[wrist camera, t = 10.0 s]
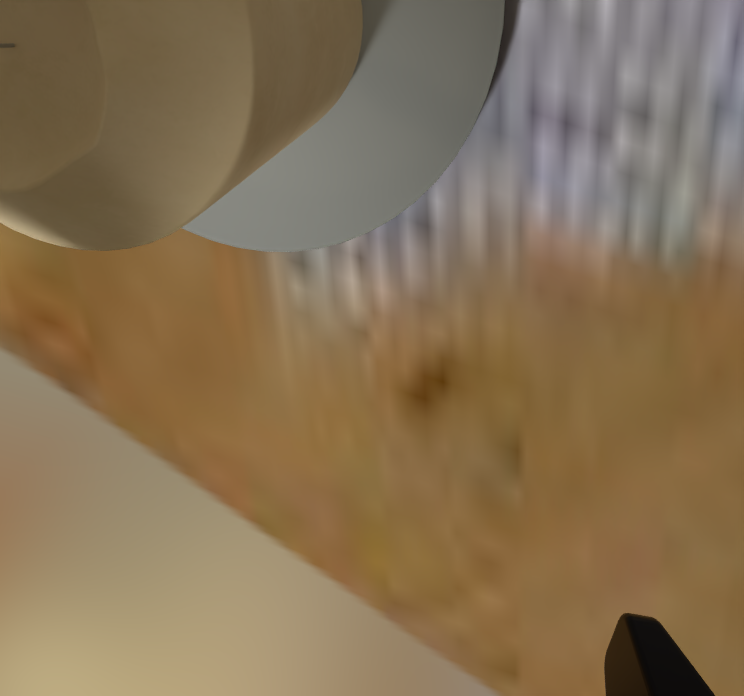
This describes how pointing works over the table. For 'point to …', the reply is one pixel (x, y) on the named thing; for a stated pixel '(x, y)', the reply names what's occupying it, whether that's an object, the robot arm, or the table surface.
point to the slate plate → (371, 131)
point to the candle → (155, 106)
